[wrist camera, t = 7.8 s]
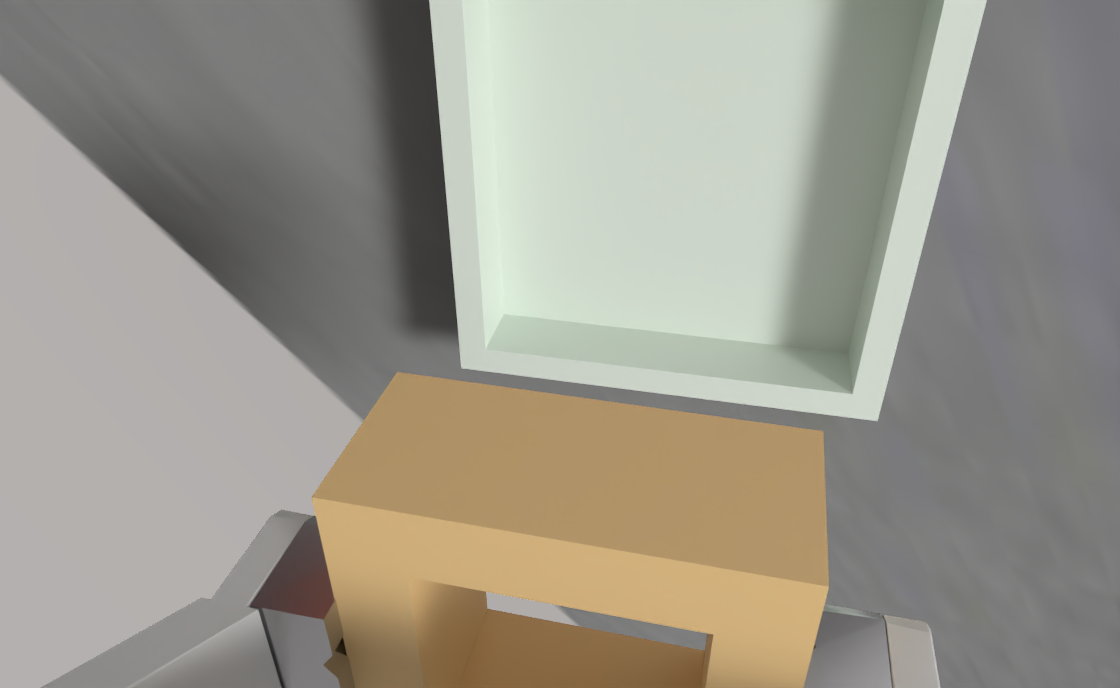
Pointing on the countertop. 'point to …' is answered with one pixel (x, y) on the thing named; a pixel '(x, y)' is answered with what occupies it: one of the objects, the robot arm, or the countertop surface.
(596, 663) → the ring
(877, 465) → the countertop surface
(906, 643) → the robot arm
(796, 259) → the tray
